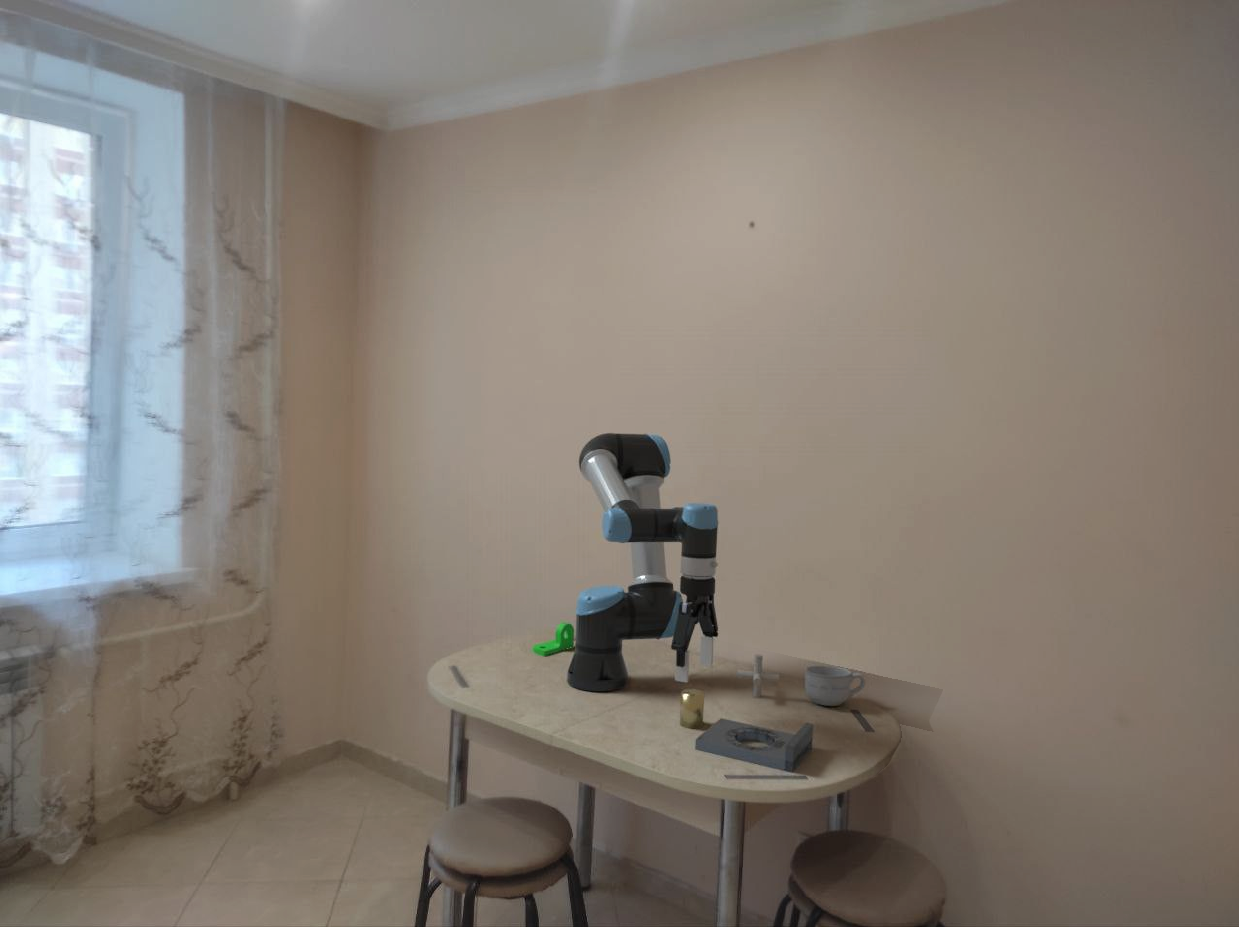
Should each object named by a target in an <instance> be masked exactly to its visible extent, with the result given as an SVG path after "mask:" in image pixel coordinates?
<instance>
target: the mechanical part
mask: <svg viewBox="0 0 1239 927" xmlns="http://www.w3.org/2000/svg"><path fill="white" fill-rule="evenodd" d="M554 637H555V638H554V639H553V640H549V641H546V642H541V643H538V644H534V645H533V646H532V653H533V652H534V653H536V654H535V655H537V654H539V655H538V656H540V655H541V657H547V655H548V656H550V655H549V654H551V655H553V654H552V653H554V654H557V653H560V652H559V651H561V650H564V649H567V648H570V647H573V646H575V643H574V642H575V628H574V625H573V624H571V623H569V622H564V621H563V622H561V623H559V624H558V626H557V627H556V629H555V636H554ZM573 648H574V647H573ZM570 649H571V648H570ZM567 650H568V649H567ZM564 651H565V650H564ZM556 652H557V653H556ZM561 652H562V651H561ZM534 653H533V654H534Z"/></svg>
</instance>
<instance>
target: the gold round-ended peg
mask: <svg viewBox="0 0 1239 927" xmlns="http://www.w3.org/2000/svg"><path fill="white" fill-rule="evenodd" d="M704 707H705V692H704V691H702V690H700V689H695V688H694V689H693V688H692V689H691V688H687V689H683V690H681V693H680V711H679V712H680V713H679V714H680V715H679V726H681V727H682V728H684V729H689V730H690V729H691V730H697V729H701V728H703V726H704V713H705V712H704V711H705V710H704Z"/></svg>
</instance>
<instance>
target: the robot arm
mask: <svg viewBox="0 0 1239 927" xmlns="http://www.w3.org/2000/svg"><path fill="white" fill-rule="evenodd" d="M578 457H579V458H578V467H579V471H580V472H581V475H582V477H583V478H584V479H585V480H586V481H587V482H589V483H590V485H591V486H592V488H593V490H594V493H595V494H596V497H597V498H598V500H599V503H600V505H601V506H602V509H603V510H604V512H603V514H602V524H601V527H602V532H603V533H602V534H603V537H604V539H605V540H606V541H607V542H610V543H619V544H625V543H630V550H631V551H630V552H631V553H630V554H631V567H632V580H631V582H630V583H629V584H628V585H627V592H626V591H625V589H624V588H623V587H621V586H618V585H611V586H610V585H600V586H599V585H598V586H595V587H590V588H588V589H585V590H583V591H581V592H580V593H579V594H578V596H577V600H576V601H577V602H576V609H575V614H576V616H575V617H576V618H575V619H576V620H575V643H574V646H575V648H574V652H573V656H572V657H571V658H572V659H571V661H570V663H569V667H568V668H567V676H566V681H567V683H568V685H569V686H571V687H573V688H576V689H579V690H584V691H591V692H608V691H609V692H610V691H617V690H620V689H623V688H624V687H626V686H627V685H628V683H629V682H628V681H629V672H628V669H627V664H626V663H625V662H626V661H625V659H624V654H623V641H628V640H629V641H630V640H652V639H653V640H655V639H656V640H661V639H670V638H672V640H671V645H670V648H671V650H673V651H675V665H674V666H675V670H674V681H676V682H681V683H689V672H690V670H689V668H690V650H688V649H689V645H690V643H691V640H692V636H693V634H694V631H695V627H696V625H698V624H699V626H700V627H699V628H700V629H701V632H702V635H701V636H700V651H699V652H700V658H699V659H700V660H699V665H700V666H703V667H709V668H712V667H713V664H714V663H713V661H714V660H713V659H714V641H715V640H714V637H715V638H718V637H719V626H718V621H717V614H716V607H715V594H716V578H715V577H714V576H715V575H716V569H717V567H718V566H719V564H718V562H717V547H718V546H717V545H718V531H719V530H718V526H719V516H718V514H719V512H718V511H719V510H718V507H717V506H715V505H714V504H708V503H697V502H695V503H687V504H685V505H684V506H683V507H678V506H676V507H671V508H661V507H662V506H661V505H662V504H661V496H660V495H661V494H660V488H661V487H662V486H663V484H664V483H665V478H667V477H668V475H669V474H670V472H671V471H670V470H671V453H670V450H669V446H668V444H667V442H666V441H665V439H663V437H661V436H660V435H658V434H657V435H656V434H648V433H643V434H642V433H614V432H607V433H602V434H599V435H596V436H594V437H592V438H591V439H590V440H589V441H588V442H587V443H586V444H584V446H583V447H582V449H581V451H580V453H579V456H578ZM665 543H681V554H680V556H681V559H680V570H679V571H680V574H682V575H681V576H680V584H679V591H677V590H674V583H673V582H672V581H671V580H670V579H669V578H668V577H667V566H666V555H665ZM682 595H685V596H686V599H685V602H684V599H683V596H682Z"/></svg>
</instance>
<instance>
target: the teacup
mask: <svg viewBox="0 0 1239 927" xmlns="http://www.w3.org/2000/svg"><path fill="white" fill-rule="evenodd" d="M804 671H805V678H804V685H805V686H804V688H805V693H806V695H807V697H808V698H809V699H810V700H811V701H812V702H813V703H815V704H817V705H821V706H825V707H827V706H828V707H836V706H837V707H838V706H840V705H842V704H843V703H845V702H846V701H847V700H848V699H849V698H851V697H852V696H853V695H854V694H855V693H858V692H860V691H861V690H862V689H863V688H864V687H865V685H866V679H865V677H864V675H863V674H861V673H859V672H854V673H852V672H851V671H850V670H849V669H847V668H844V667H841V666H835V665H827V664H826V665H824V664H819V665H818V664H814V665H808V666H806V667H805V668H804ZM855 678H859V679H860V683H859V685H858V686H857V687H855V688H853V689H851V684H852V683H853V681H854V679H855Z"/></svg>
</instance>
